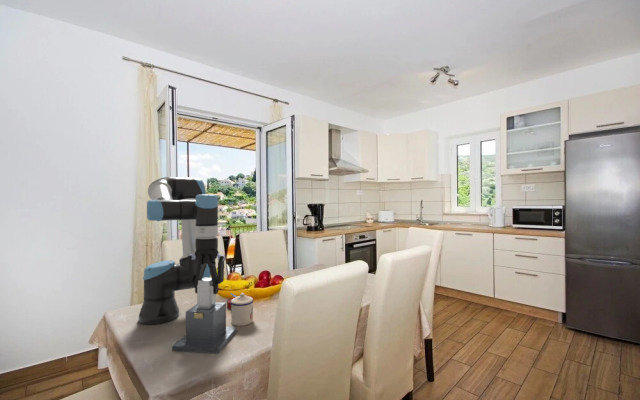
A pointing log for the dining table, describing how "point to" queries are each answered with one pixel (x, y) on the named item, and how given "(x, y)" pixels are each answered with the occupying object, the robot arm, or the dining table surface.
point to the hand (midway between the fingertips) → (206, 302)
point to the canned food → (230, 301)
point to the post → (204, 294)
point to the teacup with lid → (242, 310)
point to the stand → (205, 330)
